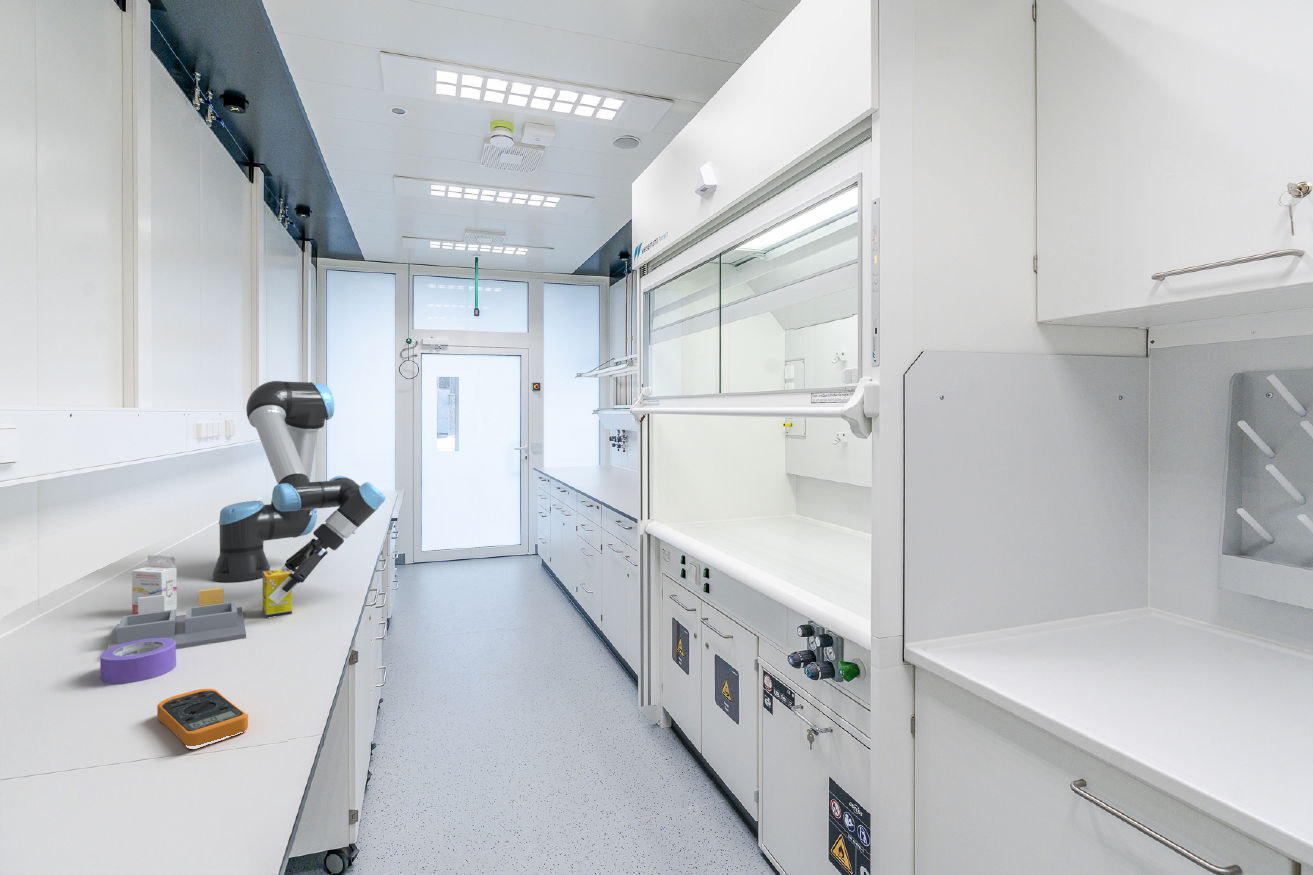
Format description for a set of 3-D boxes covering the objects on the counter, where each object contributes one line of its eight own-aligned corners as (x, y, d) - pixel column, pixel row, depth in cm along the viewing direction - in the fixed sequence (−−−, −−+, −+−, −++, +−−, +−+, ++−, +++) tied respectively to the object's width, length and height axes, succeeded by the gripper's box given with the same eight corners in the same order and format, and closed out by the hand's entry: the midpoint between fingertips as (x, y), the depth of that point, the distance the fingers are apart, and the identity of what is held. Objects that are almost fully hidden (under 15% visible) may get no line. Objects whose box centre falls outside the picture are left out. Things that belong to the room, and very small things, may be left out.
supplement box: (261, 612, 165) (261, 571, 165) (288, 608, 169) (287, 568, 169) (265, 618, 161) (265, 575, 160) (292, 613, 165) (292, 572, 164)
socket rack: (117, 627, 152) (117, 599, 152) (241, 610, 166) (241, 584, 166) (104, 660, 132) (103, 627, 132) (246, 637, 147) (245, 608, 147)
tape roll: (95, 689, 119) (94, 663, 119) (106, 668, 129) (105, 644, 129) (173, 676, 125) (173, 651, 125) (178, 657, 135) (178, 634, 135)
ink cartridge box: (130, 615, 161) (130, 558, 160) (148, 609, 166) (147, 554, 165) (161, 617, 160) (161, 560, 160) (178, 611, 165) (177, 555, 164)
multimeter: (211, 702, 115) (211, 683, 115) (250, 734, 104) (250, 713, 104) (153, 719, 108) (153, 699, 108) (188, 755, 97) (188, 733, 97)
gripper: (354, 547, 163) (287, 614, 155) (337, 532, 184) (278, 591, 175) (331, 529, 160) (262, 596, 152) (317, 515, 180) (255, 574, 172)
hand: (270, 594), depth 164 cm, fingers open, 13 cm apart
